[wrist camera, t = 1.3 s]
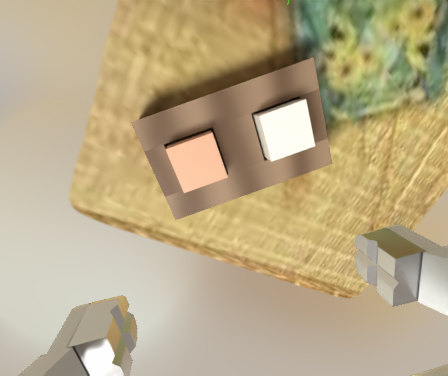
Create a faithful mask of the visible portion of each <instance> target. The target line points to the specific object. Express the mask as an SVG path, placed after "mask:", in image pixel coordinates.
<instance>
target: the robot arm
mask: <svg viewBox="0 0 448 376" xmlns="http://www.w3.org/2000/svg"><path fill="white" fill-rule="evenodd" d="M355 247H356V248H357V249H358V252H357V253H356V255H355V266H356V268H357V271H358V273H359V274H360V276H361V277H362V278H363V279H364V280H365V281H366V282H367V283H369V284H372V285H375V286H376V290H377V293H378V294H380V295H381V296H382V297H383V298H384V299H385V300H386V301H387V302H388V303H389V304H390V305H391V306H392V307H394V306H398V305H402V304H406V303H410V302H414V301H418V302H419V303H421V304H423V305H426V306H428V307H430V308H432V309H434V310H437V311H439V312H441V313H443V314H445V315H447V316H448V246H444V247H442V246H440V245H438V244H436V243H434V242H432V241H430V240H428V239H427V238H425V237H423V236H421V235H419V234H417V233H415V232H413V231H412V230H410V229H408V228H406V227H404V226H402V225H398V224H395V225H391V226H388V227H384V228H382V229H379V230H375V231H371V232H367V233H364V234H360V235H356V237H355ZM128 307H129V303H128V301H127V299H126V297H125V296H118V297H114V298H109V299H105V300H101V301H97V302H92V303H88V304H85V305H80V306H76V307H75V308H73V309H72V311H71V312H70V314H69V316H68V317H67V319H66V321H65V323H64V325H63V326H62V328H61V330H60V332H59V333H58V335H57V337H56V338H55V340H54V342H53V344H52V345H51V347H50V349H49V351H48V352H47V354H45V355H41V356H40V357H39V358H38V359H37V360H35V361H34V362H33V363H32V364H31V365H30V366H29V367H28V368H26V369H25V370H24V371H23V372H22V373H21V374H19V376H129V375H130V370H131V365H132V361H133V360H132V358H131V355H130V353H131V351H132V350H133V349H134V348H135V346H136V341H137V325H136V321H135V318H134V315H133V314H131V313H129V312H127V310H128ZM411 376H448V364H446V365H443V366H440V367H437V368H434V369H430V370H427V371H424V372H421V373H418V374H415V375H411Z"/></svg>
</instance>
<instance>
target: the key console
mask: <svg viewBox="0 0 448 376" xmlns="http://www.w3.org/2000/svg"><path fill="white" fill-rule="evenodd" d="M299 99H306V101H307V106H308V112H309V117H310V122H311V127H312V132H313V137H314V142H315V146H314V147H311V148H309V149H306V150H303V151H300V152H297V153H295V154H292V155H289V156H286V157H284V158H281V159H278V160H275V161H272V162H271V161H270V160H269V159H267V158H266V157H264V153H263V150H262V146H261V142H260V139H259V135H258V132H257V128H256V124H255V121H254V117H253V115H254V114H256V113H259V112H262V111H265V110H267V109H270V108H273V107H276V106H279V105H281V104H284V103H287V102H290V101H293V100H299ZM131 124H132V126H133V128H134V130H135V132H136V134H137V137H138V139H139V141H140V143H141V145H142V148H143V150H144V152H145V154H146V156H147V158H148V161H149V163H150V165H151V167H152V169H153V172H154V174H155V176H156V178H157V180H158V182H159V185H160V187H161V189H162V191H163V193H164V196H165V198H166V200H167V202H168V204H169V206H170V209H171V211H172V213H173V215H174V217H175V220H177V219H180V218H183V217H186V216H189V215H191V214H194V213H197V212H200V211H202V210H205V209H208V208H211V207H214V206H216V205H219V204H222V203H225V202H227V201H230V200H233V199H236V198H239V197H241V196H244V195H247V194H250V193H253V192H255V191H258V190H261V189H264V188H266V187H269V186H272V185H275V184H278V183H280V182H283V181H286V180H289V179H291V178H294V177H297V176H300V175H303V174H305V173H308V172H311V171H314V170H316V169H319V168H322V167H325V166H328V165H330V164H332V159H331V154H330V148H329V142H328V136H327V131H326V125H325V119H324V114H323V108H322V102H321V97H320V91H319V85H318V79H317V74H316V68H315V62H314V57H313V58H310V59H307V60H304V61H302V62H299V63H296V64H293V65H290V66H288V67H285V68H282V69H279V70H276V71H274V72H271V73H268V74H265V75H262V76H260V77H257V78H254V79H251V80H248V81H246V82H243V83H240V84H237V85H234V86H231V87H229V88H226V89H223V90H220V91H217V92H215V93H212V94H209V95H206V96H203V97H201V98H198V99H195V100H192V101H189V102H187V103H184V104H181V105H178V106H175V107H173V108H170V109H167V110H164V111H161V112H159V113H156V114H153V115H150V116H147V117H145V118H142V119H139V120H136V121H133V122H131ZM209 130H211V131H212V133H213V136H214V139H215V142H216V144H217V147H218V150H219V153H220V156H221V159H222V162H223V165H224V168H225V171H226V173H227V176H228V178H225V179H222V180H220V181H217V182H214V183H211V184H208V185H206V186H203V187H200V188H197V189H194V190H192V191H189V192H186V193H184V192H183V190H182V187H181V185H180V183H179V180H178V178H177V176H176V173H175V171H174V168H173V166H172V164H171V161H170V159H169V157H168V154H167V152H166V150H165V149H166V148H167V146H168V145H170V144H172V143H175V142H178V141H181V140H184V139H186V138H189V137H192V136H195V135H198V134H200V133H203V132H206V131H209Z"/></svg>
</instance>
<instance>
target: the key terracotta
mask: <svg viewBox="0 0 448 376" xmlns="http://www.w3.org/2000/svg"><path fill="white" fill-rule="evenodd" d="M165 150H166V152H167V154H168V157H169V159H170V161H171V164H172V166H173V168H174V171H175V173H176V176H177V178H178V180H179V183H180V185H181V187H182V190H183V192H184V193H186V192H189V191H192V190H194V189H197V188H200V187H203V186H206V185H208V184H211V183H214V182H217V181H220V180H222V179H225V178H228V176H227V173H226V171H225V168H224V165H223V162H222V159H221V156H220V153H219V150H218V147H217V144H216V142H215V139H214V136H213V133H212V131H211V130H209V131H206V132H203V133H200V134H198V135H195V136H192V137H189V138H186V139H184V140H181V141H178V142H175V143H172V144H170V145H168V146H167V148H166V149H165Z"/></svg>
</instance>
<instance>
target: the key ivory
mask: <svg viewBox="0 0 448 376" xmlns="http://www.w3.org/2000/svg"><path fill="white" fill-rule="evenodd" d="M253 117H254V121H255V124H256V128H257V132H258V135H259V139H260V142H261V146H262V150H263V153H264V157H266V158H267V159H269V160H270V161H271V162H272V161H275V160H278V159H281V158H284V157H286V156H289V155H292V154H295V153H297V152H300V151H303V150H306V149H309V148H311V147H314V146H315V142H314V137H313V132H312V127H311V122H310V117H309V112H308V106H307V101H306V99H299V100H293V101H290V102H287V103H284V104H281V105H279V106H276V107H273V108H270V109H267V110H265V111H262V112H259V113H256V114H254V115H253Z"/></svg>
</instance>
